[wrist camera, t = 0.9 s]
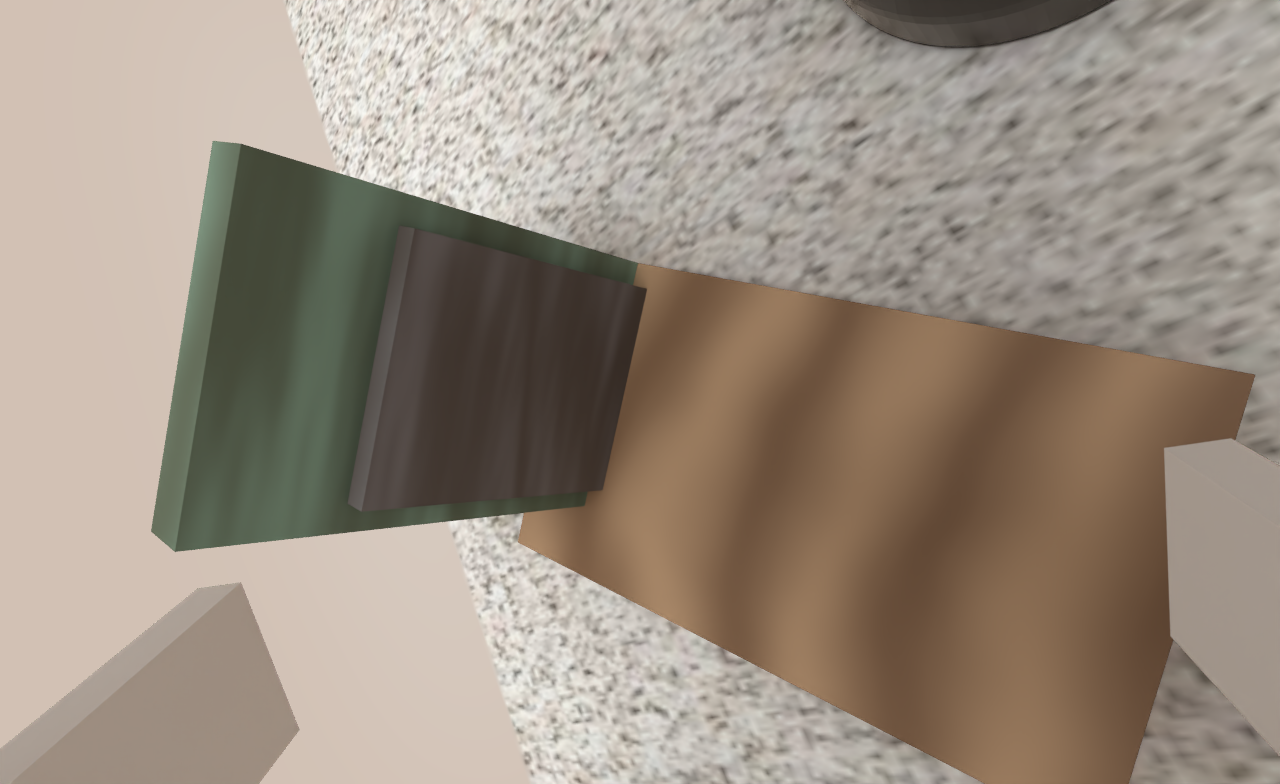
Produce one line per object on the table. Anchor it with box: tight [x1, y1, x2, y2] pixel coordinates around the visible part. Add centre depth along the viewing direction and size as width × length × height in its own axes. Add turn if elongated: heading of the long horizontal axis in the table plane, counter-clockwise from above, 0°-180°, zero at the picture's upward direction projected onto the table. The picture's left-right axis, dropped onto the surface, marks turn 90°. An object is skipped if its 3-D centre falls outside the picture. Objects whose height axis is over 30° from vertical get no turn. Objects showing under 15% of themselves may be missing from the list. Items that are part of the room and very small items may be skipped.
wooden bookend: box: [151, 141, 1255, 784], centre depth 23 cm, size 25×14×18 cm, turn 72°
